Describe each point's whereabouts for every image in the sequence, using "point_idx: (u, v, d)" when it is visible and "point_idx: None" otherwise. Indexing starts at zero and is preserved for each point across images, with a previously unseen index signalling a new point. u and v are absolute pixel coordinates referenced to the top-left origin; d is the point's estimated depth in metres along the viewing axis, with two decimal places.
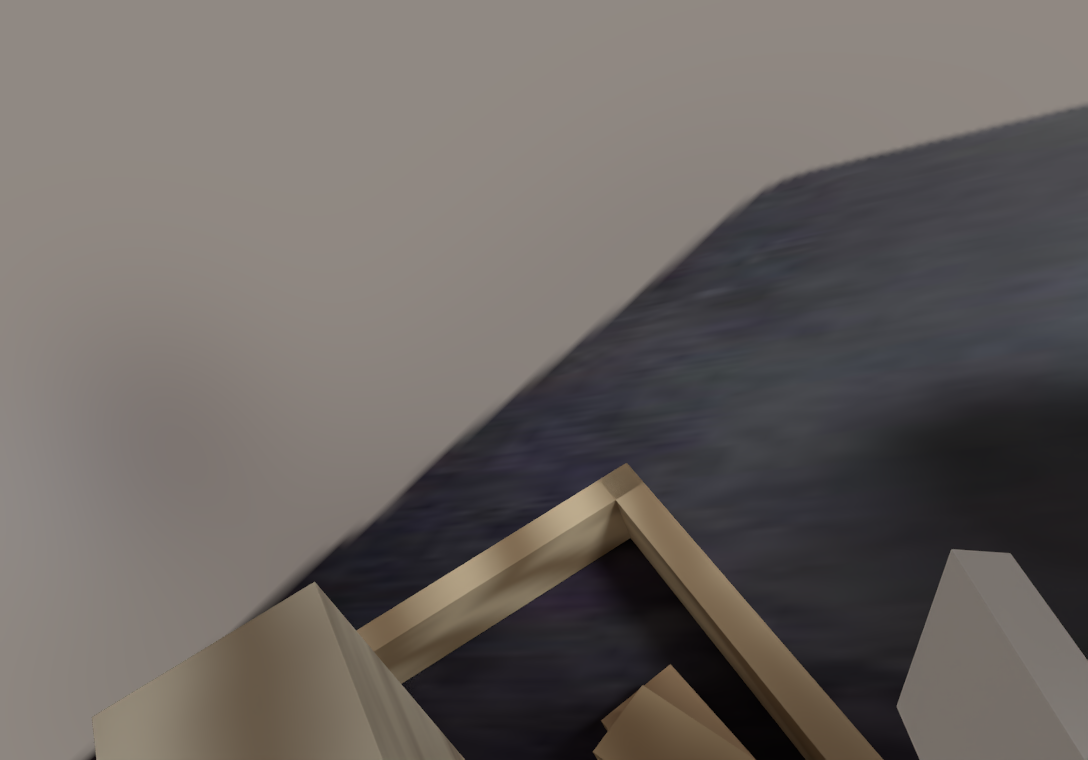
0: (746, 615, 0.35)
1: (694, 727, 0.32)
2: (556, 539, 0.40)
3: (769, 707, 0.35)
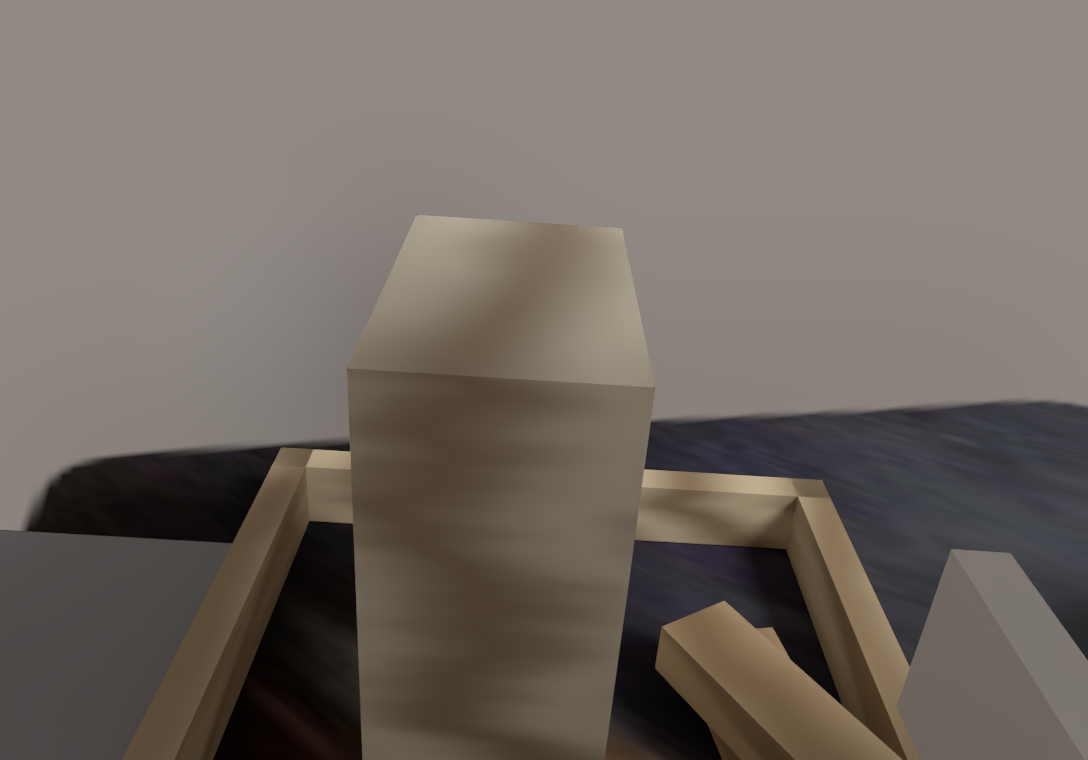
0: (878, 621, 0.34)
1: (767, 645, 0.32)
2: (728, 495, 0.42)
3: (855, 712, 0.33)
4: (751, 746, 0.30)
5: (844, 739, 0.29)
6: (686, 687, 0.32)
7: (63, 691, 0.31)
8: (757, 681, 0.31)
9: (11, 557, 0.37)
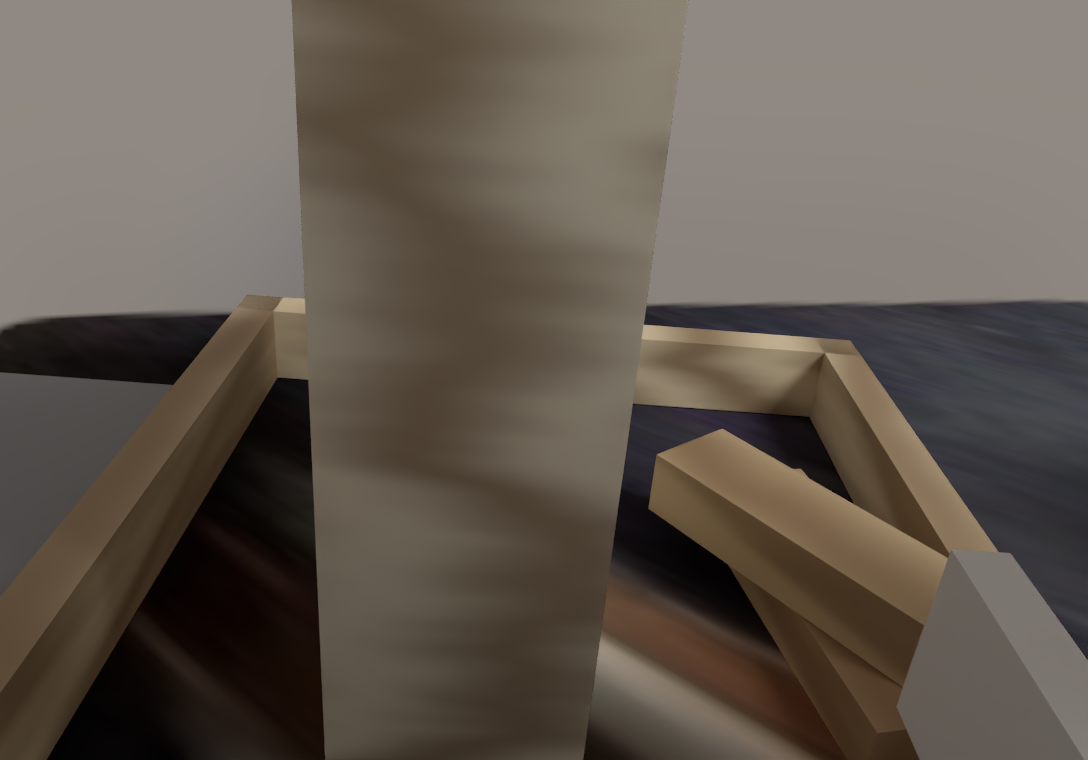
0: (923, 460, 0.30)
1: (779, 466, 0.28)
2: (746, 350, 0.37)
3: None
4: (778, 569, 0.25)
5: (887, 548, 0.24)
6: (690, 520, 0.27)
7: None
8: (776, 499, 0.26)
9: None
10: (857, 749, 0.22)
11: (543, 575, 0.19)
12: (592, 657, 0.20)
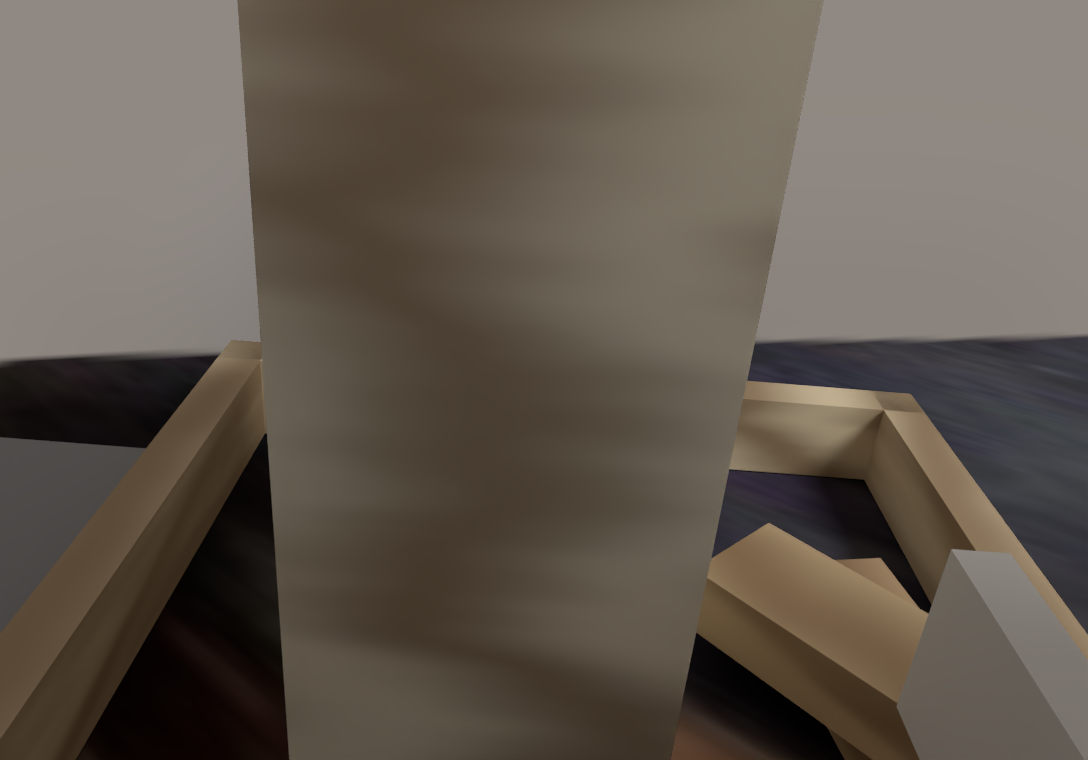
0: (1014, 552, 0.26)
1: (842, 571, 0.23)
2: (795, 406, 0.33)
3: None
4: (854, 715, 0.21)
5: None
6: (741, 647, 0.23)
7: None
8: (844, 622, 0.22)
9: None
10: None
11: None
12: None
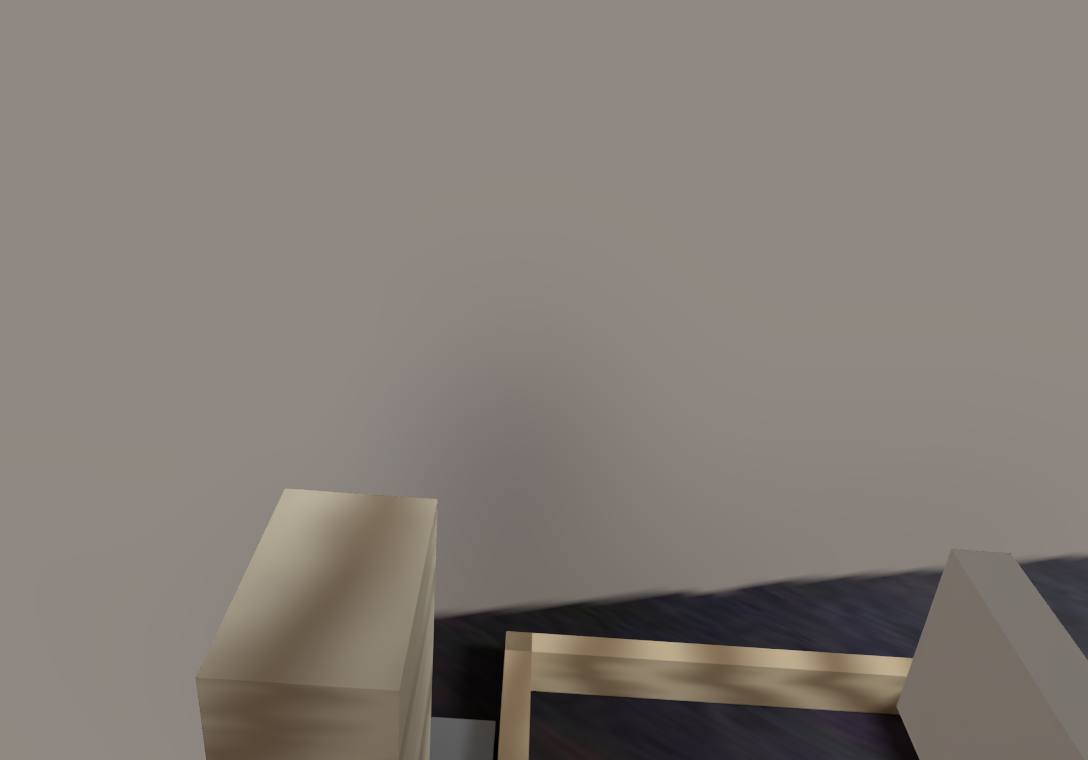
0: None
1: None
2: (867, 675, 0.52)
3: None
4: None
5: None
6: None
7: None
8: None
9: None
10: None
11: None
12: None
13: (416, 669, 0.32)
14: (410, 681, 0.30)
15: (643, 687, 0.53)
